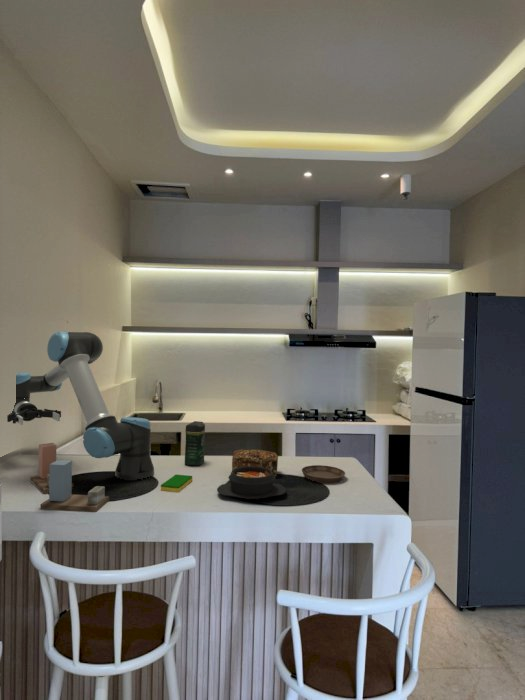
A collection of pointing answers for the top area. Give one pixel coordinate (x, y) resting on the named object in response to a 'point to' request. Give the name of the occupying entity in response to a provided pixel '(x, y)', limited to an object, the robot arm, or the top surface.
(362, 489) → the top surface
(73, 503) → the wooden board with block
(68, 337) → the robot arm
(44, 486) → the brown piece
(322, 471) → the plant saucer
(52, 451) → the terracotta tall block
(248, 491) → the casserole
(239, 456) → the bread
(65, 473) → the slate blue block
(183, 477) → the dish sponge
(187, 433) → the coffee jar
